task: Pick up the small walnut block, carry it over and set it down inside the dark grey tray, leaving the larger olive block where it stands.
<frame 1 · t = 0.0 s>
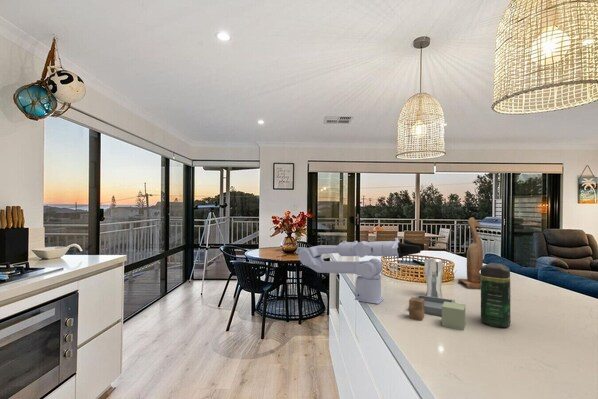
hand: (422, 248, 109), 22 cm above the countertop, tool horizontal, fingers open, 7 cm apart
coffee jar: (495, 323, 96), on the countertop
bird sculpture: (474, 286, 140), on the countertop
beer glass: (434, 297, 123), on the countertop
grey tray: (432, 308, 109), on the countertop
olive block: (453, 324, 94), on the countertop
walnut block: (416, 317, 100), on the countertop
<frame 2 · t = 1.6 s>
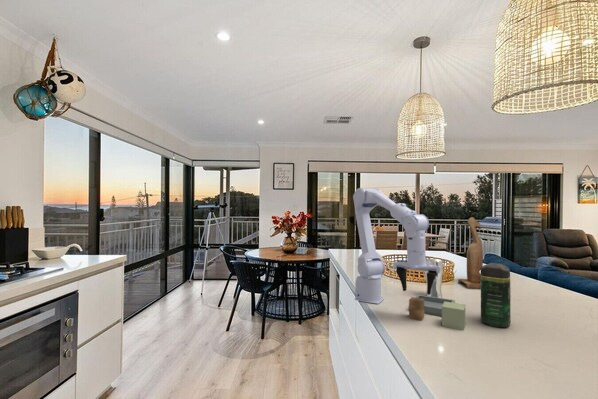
hand: (416, 292, 100), 8 cm above the countertop, tool pointing down, fingers open, 7 cm apart
nothing on the countertop moved.
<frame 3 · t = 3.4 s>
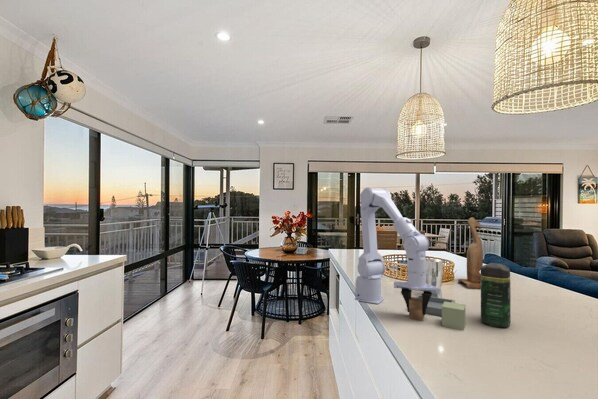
hand: (416, 312, 100), 2 cm above the countertop, tool pointing down, fingers closed on walnut block, 4 cm apart
walnut block: (416, 317, 100), on the countertop, touching gripper
everything else where it was.
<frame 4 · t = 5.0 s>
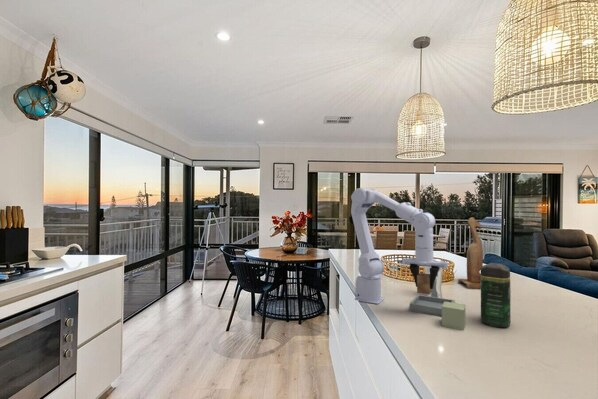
hand: (424, 287, 105), 9 cm above the countertop, tool pointing down, fingers closed on walnut block, 4 cm apart
walnut block: (424, 292, 104), point 7 cm above the countertop, touching gripper
everything else where it was.
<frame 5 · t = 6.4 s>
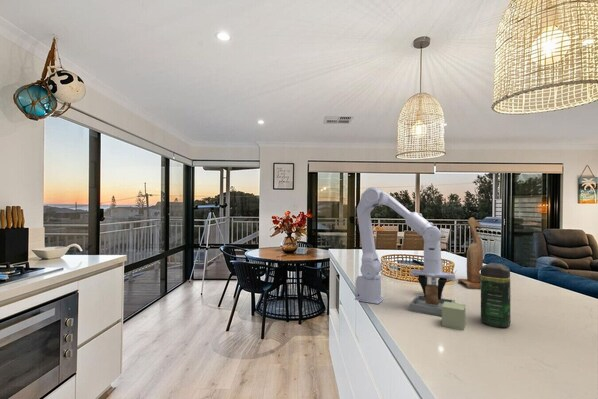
hand: (432, 297, 109), 4 cm above the countertop, tool pointing down, fingers closed on walnut block, 4 cm apart
walnut block: (432, 302, 109), point 2 cm above the countertop, touching gripper
everything else where it was.
when the fingers open (4 cm above the countertop, at t = 7.1 s): walnut block drops 1 cm, resting on grey tray.
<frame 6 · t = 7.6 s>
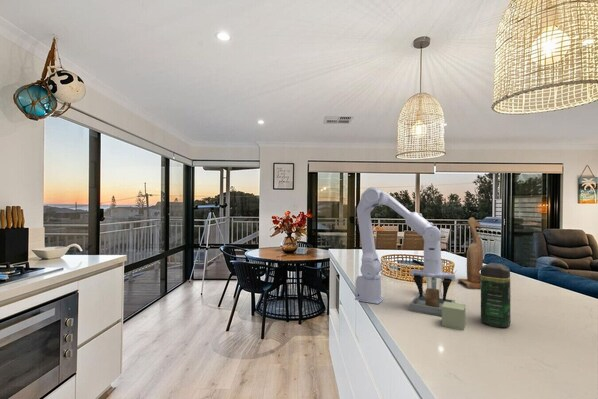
hand: (432, 297, 109), 4 cm above the countertop, tool pointing down, fingers open, 7 cm apart
walnut block: (432, 306, 109), point 1 cm above the countertop, touching grey tray
everything else where it was.
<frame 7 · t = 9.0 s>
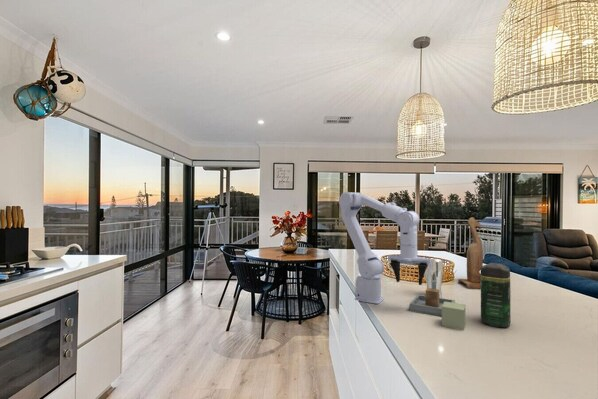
hand: (409, 282, 109), 9 cm above the countertop, tool pointing down, fingers open, 7 cm apart
nothing on the countertop moved.
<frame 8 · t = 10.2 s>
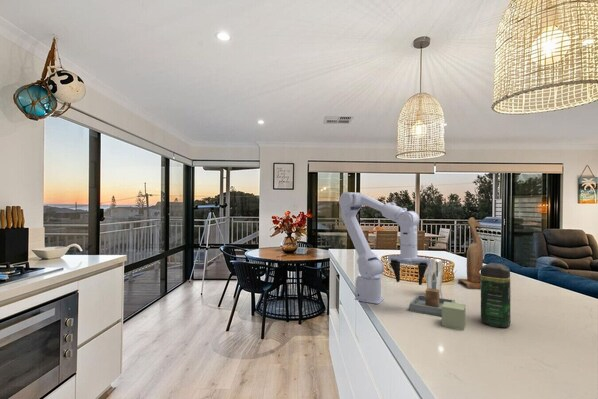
hand: (409, 282, 109), 9 cm above the countertop, tool pointing down, fingers open, 7 cm apart
nothing on the countertop moved.
at the end: walnut block inside the target area on the grey tray (0.3 cm from its centre), point 0.8 cm above the grey tray's base; walnut block tilted 0°; olive block moved 0.1 cm from its start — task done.
